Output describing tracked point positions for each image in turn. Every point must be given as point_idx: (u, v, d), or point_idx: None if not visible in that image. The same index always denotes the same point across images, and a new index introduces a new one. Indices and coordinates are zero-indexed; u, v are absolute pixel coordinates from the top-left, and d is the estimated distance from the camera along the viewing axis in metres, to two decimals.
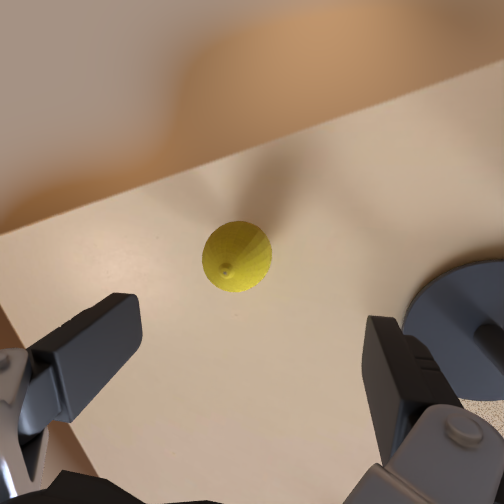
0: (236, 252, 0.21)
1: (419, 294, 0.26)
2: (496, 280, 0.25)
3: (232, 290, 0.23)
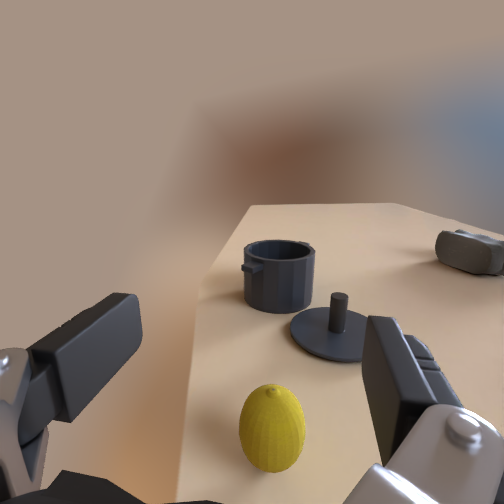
0: (258, 389, 0.25)
1: (313, 352, 0.40)
2: (301, 327, 0.45)
3: (296, 403, 0.24)
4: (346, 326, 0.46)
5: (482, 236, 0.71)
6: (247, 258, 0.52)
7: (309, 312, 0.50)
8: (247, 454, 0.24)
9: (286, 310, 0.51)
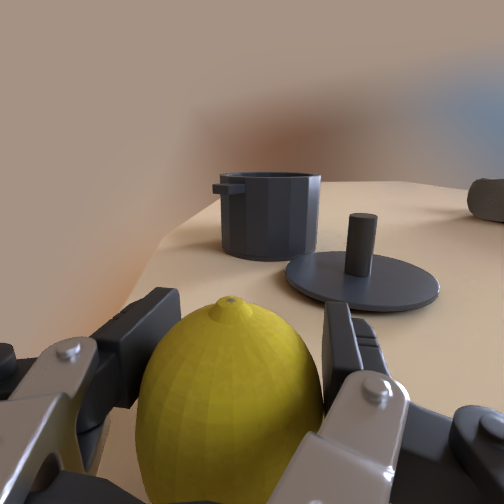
0: (195, 311, 0.09)
1: (323, 298, 0.24)
2: (302, 270, 0.29)
3: (299, 344, 0.08)
4: (372, 269, 0.30)
5: None
6: (223, 182, 0.36)
7: (314, 256, 0.34)
8: (150, 499, 0.08)
9: (280, 256, 0.35)
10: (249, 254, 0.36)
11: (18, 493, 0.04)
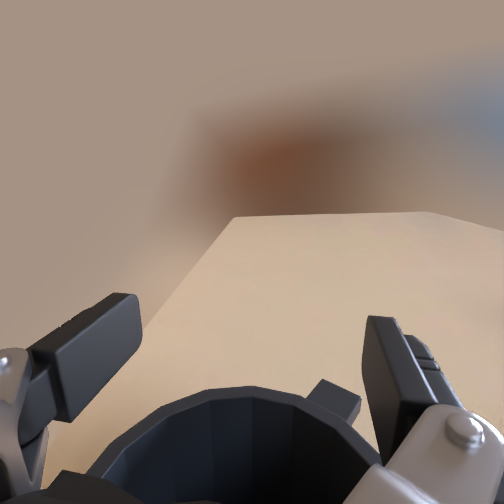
0: None
1: None
2: None
3: None
4: None
5: None
6: None
7: None
8: None
9: None
10: None
11: None
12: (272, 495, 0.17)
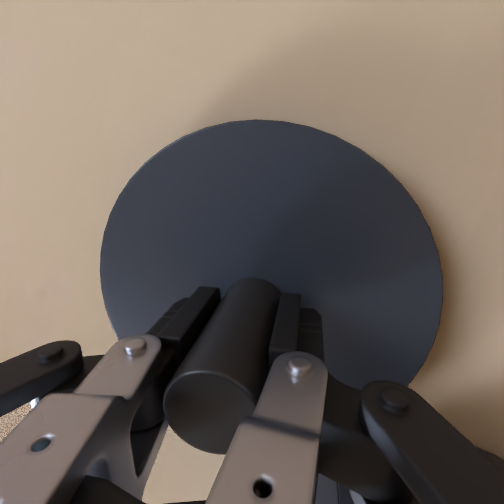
0: None
1: (383, 167, 0.10)
2: (390, 326, 0.11)
3: None
4: None
5: None
6: None
7: None
8: None
9: None
10: (502, 467, 0.13)
11: (58, 503, 0.04)
12: None
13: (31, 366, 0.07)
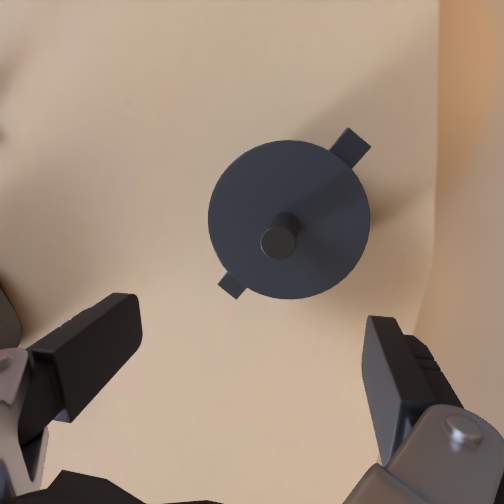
0: None
1: (342, 160, 0.23)
2: (347, 233, 0.25)
3: None
4: None
5: None
6: None
7: (319, 282, 0.26)
8: None
9: None
10: None
11: None
12: None
13: None
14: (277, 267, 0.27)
